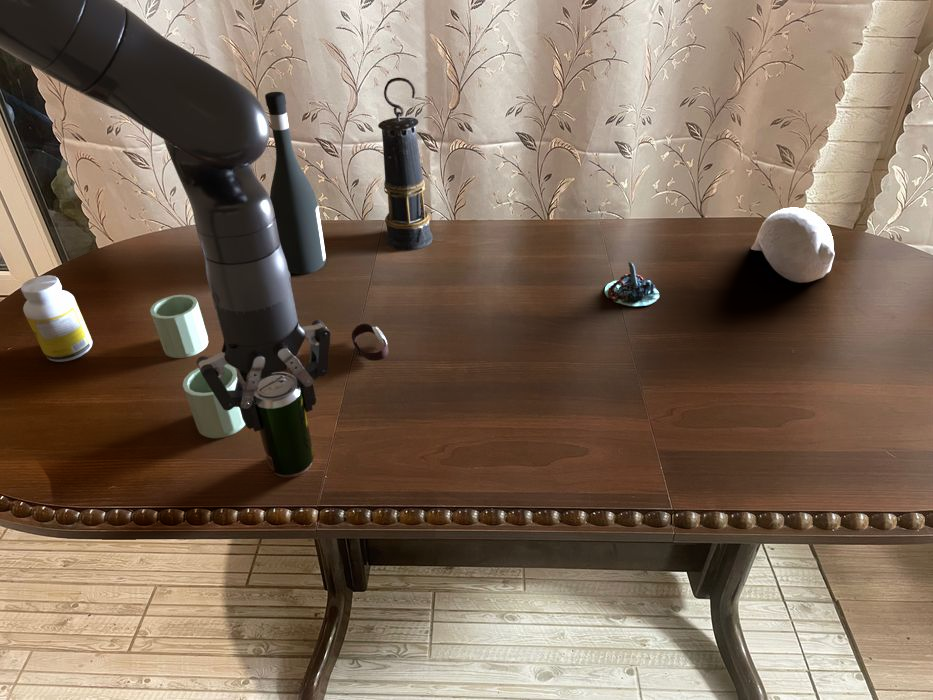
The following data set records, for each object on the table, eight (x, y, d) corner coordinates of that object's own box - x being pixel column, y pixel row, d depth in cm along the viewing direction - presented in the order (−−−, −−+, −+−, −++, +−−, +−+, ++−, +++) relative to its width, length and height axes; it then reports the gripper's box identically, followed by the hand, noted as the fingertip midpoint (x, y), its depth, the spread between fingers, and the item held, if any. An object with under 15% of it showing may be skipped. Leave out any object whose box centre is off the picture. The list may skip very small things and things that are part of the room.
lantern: (390, 228, 131) (377, 68, 113) (436, 229, 130) (429, 69, 112) (381, 249, 123) (365, 82, 106) (429, 251, 122) (421, 83, 105)
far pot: (168, 363, 95) (155, 323, 91) (159, 341, 99) (146, 302, 95) (213, 349, 98) (202, 309, 93) (202, 329, 102) (191, 290, 98)
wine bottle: (310, 251, 123) (282, 84, 105) (335, 265, 118) (311, 93, 101) (273, 266, 118) (237, 94, 100) (298, 281, 114) (265, 103, 96)
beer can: (284, 486, 75) (265, 408, 68) (260, 462, 79) (239, 385, 72) (323, 463, 78) (309, 385, 71) (299, 440, 82) (282, 364, 75)
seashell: (753, 312, 118) (815, 275, 104) (715, 245, 120) (771, 201, 107) (810, 288, 123) (876, 251, 110) (773, 225, 126) (833, 181, 113)
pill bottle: (64, 336, 100) (34, 270, 94) (102, 340, 100) (75, 273, 93) (35, 362, 95) (1, 293, 88) (76, 365, 94) (45, 297, 88)
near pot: (204, 445, 81) (189, 402, 77) (191, 416, 85) (177, 374, 81) (254, 426, 84) (243, 383, 80) (240, 399, 88) (228, 357, 84)
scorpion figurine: (646, 299, 103) (630, 257, 106) (609, 318, 108) (595, 277, 110) (670, 304, 109) (654, 264, 111) (634, 321, 113) (619, 283, 116)
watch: (397, 357, 96) (395, 337, 93) (368, 368, 94) (365, 347, 91) (373, 332, 101) (371, 312, 99) (345, 342, 99) (342, 322, 97)
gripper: (307, 254, 70) (328, 378, 80) (167, 292, 64) (208, 421, 74) (334, 284, 65) (353, 413, 75) (185, 328, 59) (227, 462, 69)
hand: (281, 416), depth 74 cm, fingers closed on beer can, 5 cm apart
